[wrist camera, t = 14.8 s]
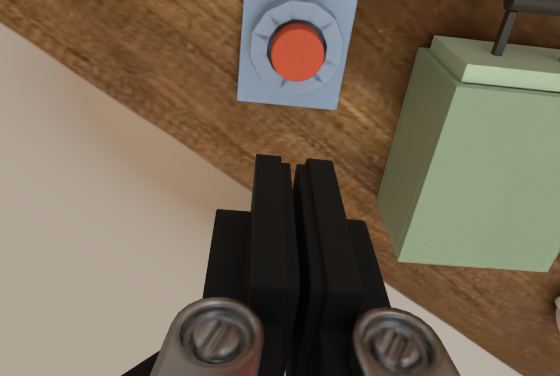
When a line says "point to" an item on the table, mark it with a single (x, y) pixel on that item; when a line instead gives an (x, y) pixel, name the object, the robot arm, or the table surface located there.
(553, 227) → the bedside cabinet
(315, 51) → the red switch button
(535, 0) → the shelf drawer
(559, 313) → the teacup
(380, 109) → the table surface
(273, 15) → the switch box
